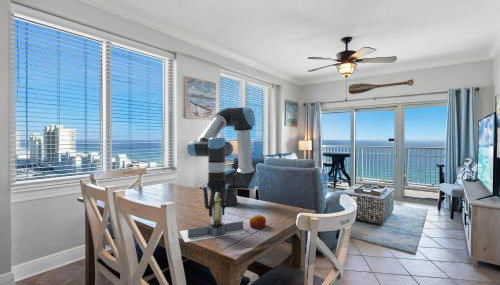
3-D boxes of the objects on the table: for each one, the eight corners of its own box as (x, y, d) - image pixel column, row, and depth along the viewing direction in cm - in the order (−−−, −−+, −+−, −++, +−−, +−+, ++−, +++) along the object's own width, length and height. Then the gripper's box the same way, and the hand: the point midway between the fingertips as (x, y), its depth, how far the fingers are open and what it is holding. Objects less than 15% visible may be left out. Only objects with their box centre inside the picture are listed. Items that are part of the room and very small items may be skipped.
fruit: (255, 231, 118) (251, 214, 122) (249, 235, 124) (246, 218, 128) (270, 228, 121) (266, 212, 125) (264, 232, 128) (260, 216, 131)
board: (179, 233, 119) (179, 230, 119) (235, 225, 131) (235, 222, 130) (184, 245, 106) (184, 242, 106) (246, 234, 118) (246, 232, 118)
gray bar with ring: (186, 234, 115) (186, 226, 115) (239, 226, 125) (239, 219, 125) (189, 240, 107) (189, 232, 107) (246, 231, 118) (246, 224, 118)
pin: (210, 225, 117) (210, 197, 117) (219, 224, 119) (219, 196, 119) (213, 228, 113) (213, 199, 113) (222, 227, 115) (222, 198, 115)
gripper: (201, 173, 109) (200, 228, 110) (236, 171, 116) (236, 223, 116) (197, 171, 116) (196, 222, 116) (230, 169, 123) (230, 218, 123)
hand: (216, 222), depth 116 cm, fingers closed on pin, 3 cm apart
